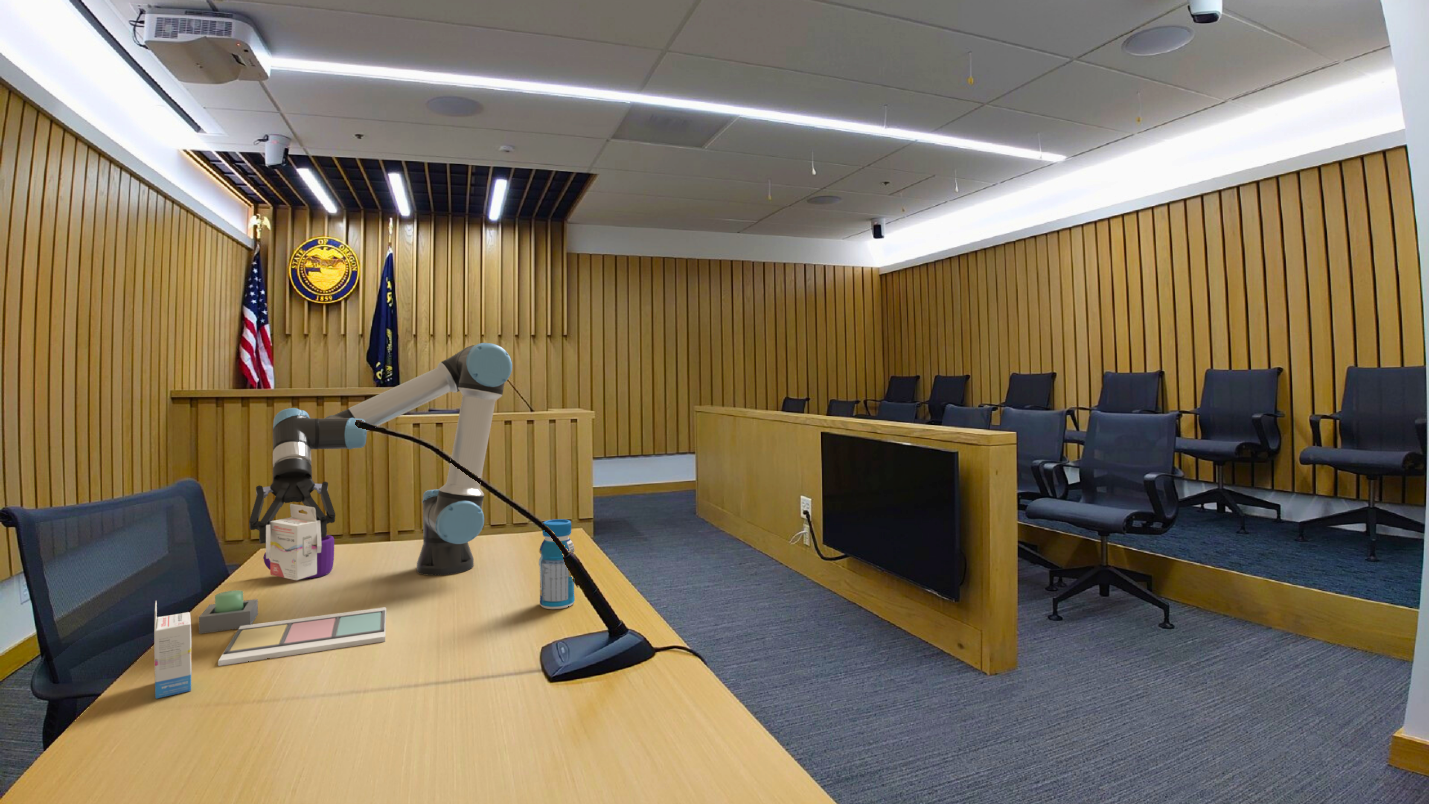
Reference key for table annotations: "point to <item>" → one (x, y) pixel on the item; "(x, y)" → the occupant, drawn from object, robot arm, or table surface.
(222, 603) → the button
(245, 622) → the button housing
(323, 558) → the mug
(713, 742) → the table surface
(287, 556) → the ink cartridge box
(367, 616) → the colored panel board
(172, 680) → the ink box
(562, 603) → the beverage bottle
